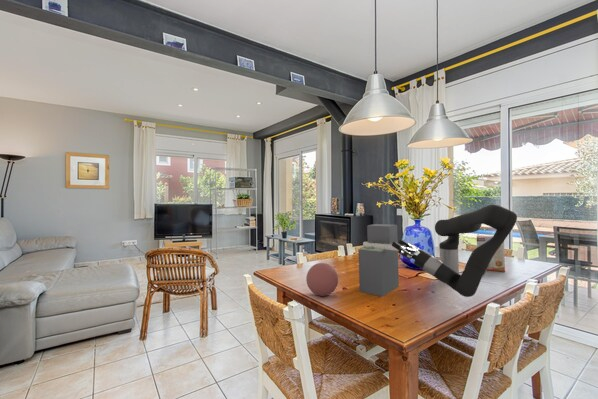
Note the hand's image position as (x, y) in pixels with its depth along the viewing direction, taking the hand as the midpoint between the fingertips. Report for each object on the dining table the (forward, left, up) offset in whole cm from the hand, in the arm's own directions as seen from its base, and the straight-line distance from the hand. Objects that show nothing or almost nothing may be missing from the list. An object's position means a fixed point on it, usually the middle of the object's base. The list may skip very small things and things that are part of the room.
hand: (396, 242), depth 133 cm
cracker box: (-79, +28, -26) cm, 88 cm away
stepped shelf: (-5, -11, -25) cm, 28 cm away
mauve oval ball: (+18, -31, -26) cm, 44 cm away
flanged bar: (0, -7, -4) cm, 8 cm away
